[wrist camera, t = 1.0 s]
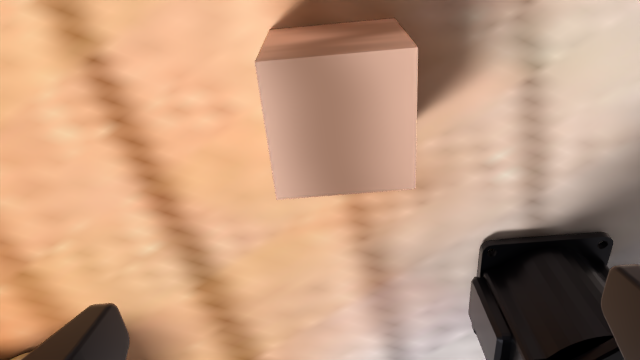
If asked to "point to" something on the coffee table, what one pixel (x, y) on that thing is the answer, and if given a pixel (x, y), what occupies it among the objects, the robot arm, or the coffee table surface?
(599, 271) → the robot arm
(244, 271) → the coffee table surface
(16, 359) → the ceramic model
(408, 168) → the terracotta cube
